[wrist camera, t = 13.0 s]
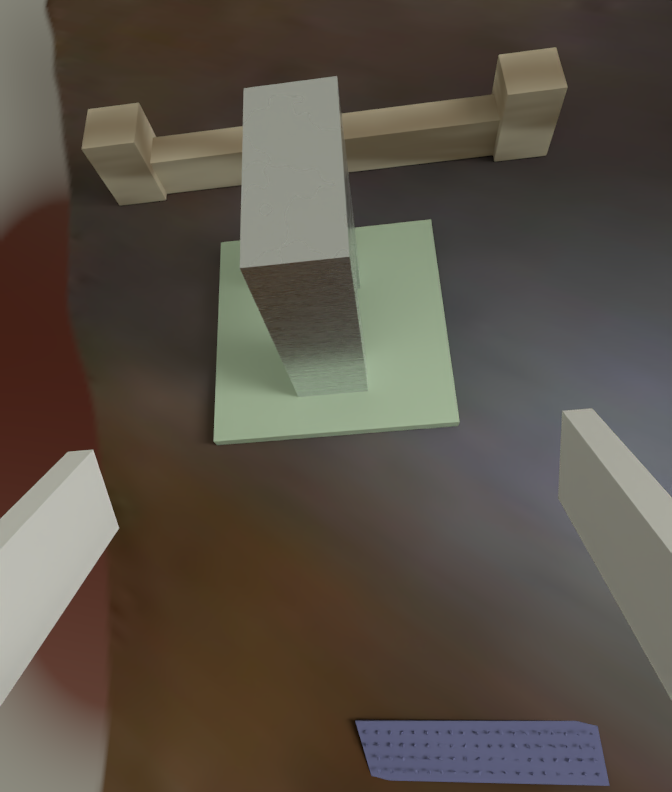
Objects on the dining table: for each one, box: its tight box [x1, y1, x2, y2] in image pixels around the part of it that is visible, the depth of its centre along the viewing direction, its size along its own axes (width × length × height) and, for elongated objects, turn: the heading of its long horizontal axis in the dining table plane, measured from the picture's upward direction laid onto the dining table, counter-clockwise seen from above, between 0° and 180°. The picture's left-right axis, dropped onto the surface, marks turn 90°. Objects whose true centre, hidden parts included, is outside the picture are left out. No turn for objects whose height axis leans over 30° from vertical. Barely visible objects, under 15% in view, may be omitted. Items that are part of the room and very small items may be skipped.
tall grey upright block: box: [240, 76, 368, 397], centre depth 24 cm, size 8×4×11 cm, turn 3°
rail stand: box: [82, 47, 568, 206], centre depth 32 cm, size 3×26×4 cm, turn 93°
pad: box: [214, 219, 459, 445], centre depth 29 cm, size 12×12×1 cm
